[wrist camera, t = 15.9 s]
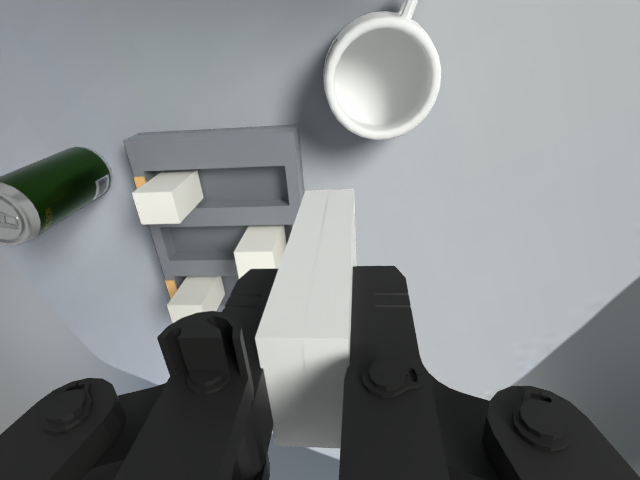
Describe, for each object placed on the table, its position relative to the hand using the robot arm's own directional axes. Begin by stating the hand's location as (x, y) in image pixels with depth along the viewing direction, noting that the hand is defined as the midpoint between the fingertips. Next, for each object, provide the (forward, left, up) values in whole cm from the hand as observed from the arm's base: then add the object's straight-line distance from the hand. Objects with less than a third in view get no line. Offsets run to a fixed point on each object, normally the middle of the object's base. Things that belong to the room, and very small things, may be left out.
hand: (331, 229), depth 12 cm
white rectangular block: (+7, -17, -25) cm, 31 cm away
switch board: (+13, -13, -26) cm, 32 cm away
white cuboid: (+13, -9, -25) cm, 30 cm away
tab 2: (+19, -17, -25) cm, 36 cm away
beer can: (+6, -28, -27) cm, 39 cm away
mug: (-3, +3, -27) cm, 27 cm away
